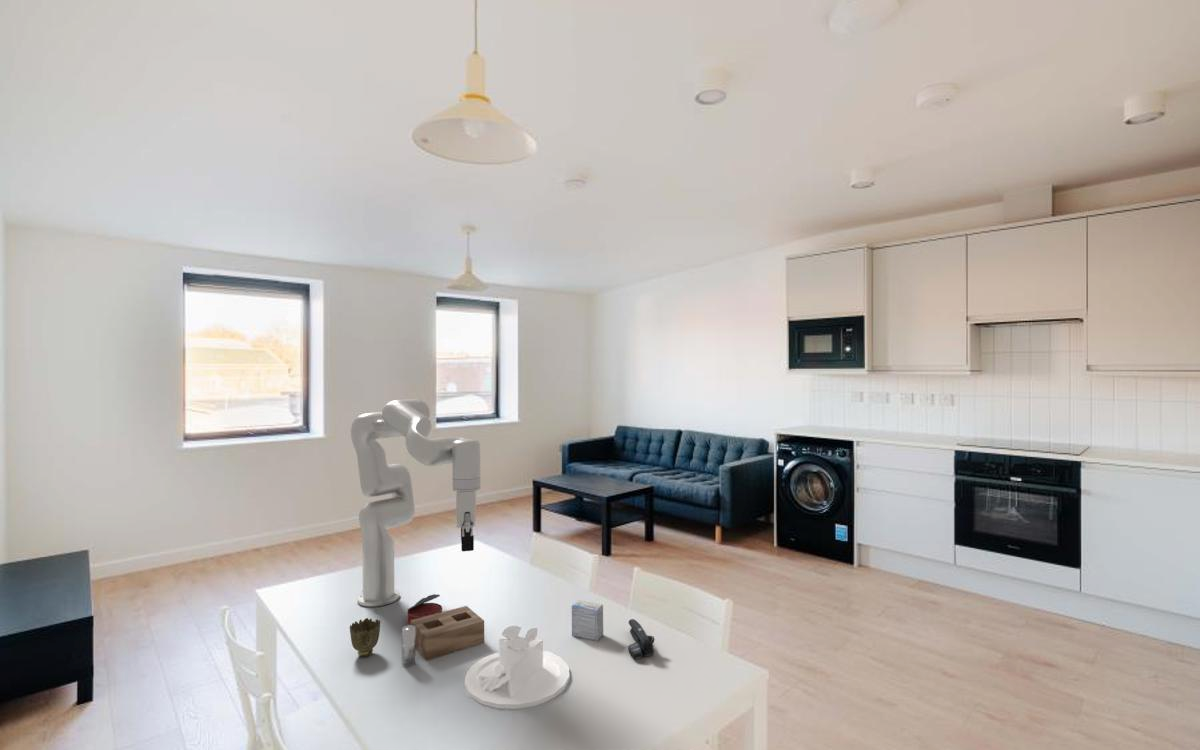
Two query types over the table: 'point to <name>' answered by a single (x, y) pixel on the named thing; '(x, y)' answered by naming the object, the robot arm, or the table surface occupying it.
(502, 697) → the dish
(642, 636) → the can opener
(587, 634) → the medicine box
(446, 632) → the hole block
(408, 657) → the pin
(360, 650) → the cup
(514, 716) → the table surface
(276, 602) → the table surface
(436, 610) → the canned food
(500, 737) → the table surface
